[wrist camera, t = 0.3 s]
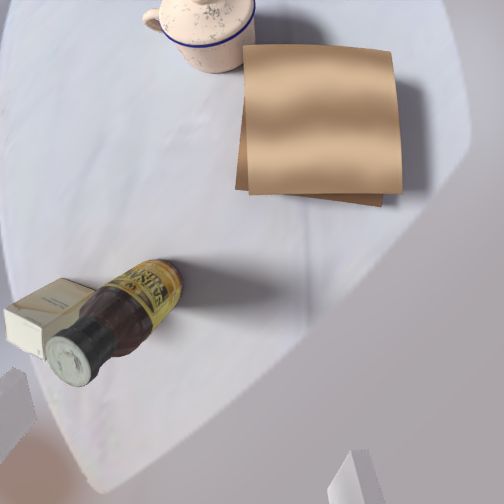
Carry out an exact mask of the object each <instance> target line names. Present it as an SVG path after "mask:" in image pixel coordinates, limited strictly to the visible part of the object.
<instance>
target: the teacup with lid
mask: <svg viewBox="0 0 504 504" xmlns="http://www.w3.org/2000/svg"><path fill="white" fill-rule="evenodd" d="M254 13H255V0H163V1H162V3H161V6H160V8H155V9H150V10H148V11H147V12H145V14H144V16H143V23H144V24H145V25H146V26H147V27H149V28H150V29H152V30H154V31H157V32H160V33H164V34H165V35H166V36H167V37H168V38H169V39H170V40H172V41H173V42H174V44H175V45H176V47H177V48H178V50H179V51H180V53H181V54H182V56H183V57H184V59H185V60H186V61H187V62H188V63H189V64H190V65H191V66H192V67H194V68H195V69H197V70H200V71H203V72H208V73H221V72H226V71H229V70H232V69H234V68H236V67H238V66H240V65H241V64H242V63H244V61H243V45H255V27H254ZM155 19H159V21H157V20H155Z"/></svg>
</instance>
